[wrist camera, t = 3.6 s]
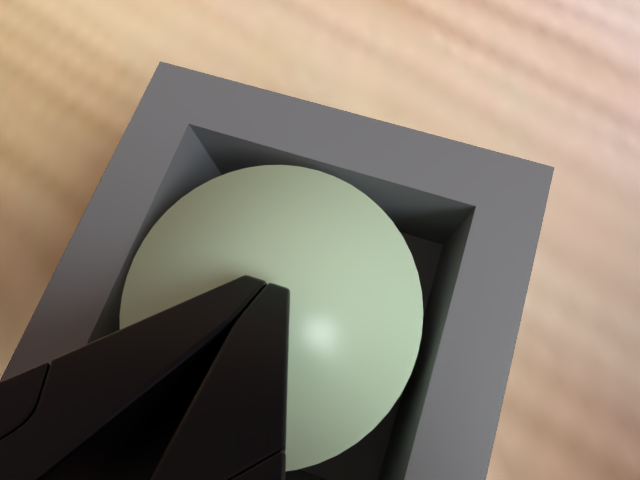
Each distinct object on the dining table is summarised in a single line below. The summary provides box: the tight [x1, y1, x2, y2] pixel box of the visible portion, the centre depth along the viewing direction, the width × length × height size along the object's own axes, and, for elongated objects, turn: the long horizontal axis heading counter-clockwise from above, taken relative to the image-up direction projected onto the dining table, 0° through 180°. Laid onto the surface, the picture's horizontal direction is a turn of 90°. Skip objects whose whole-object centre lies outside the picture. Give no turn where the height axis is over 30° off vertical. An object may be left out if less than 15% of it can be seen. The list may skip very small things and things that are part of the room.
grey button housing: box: [0, 62, 554, 480], centre depth 12 cm, size 9×9×8 cm
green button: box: [120, 165, 423, 471], centre depth 9 cm, size 6×6×3 cm
